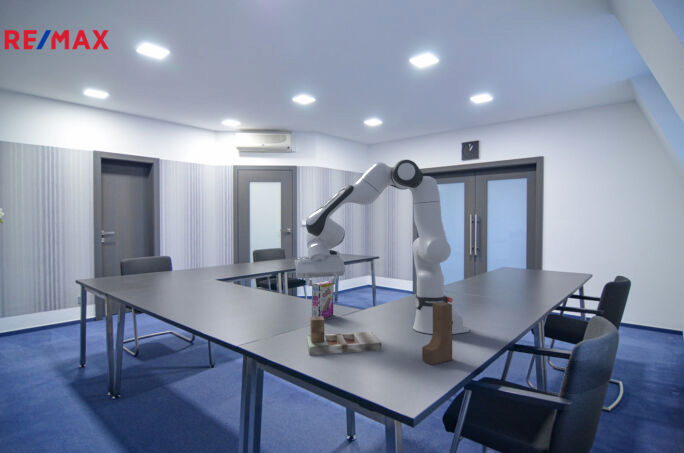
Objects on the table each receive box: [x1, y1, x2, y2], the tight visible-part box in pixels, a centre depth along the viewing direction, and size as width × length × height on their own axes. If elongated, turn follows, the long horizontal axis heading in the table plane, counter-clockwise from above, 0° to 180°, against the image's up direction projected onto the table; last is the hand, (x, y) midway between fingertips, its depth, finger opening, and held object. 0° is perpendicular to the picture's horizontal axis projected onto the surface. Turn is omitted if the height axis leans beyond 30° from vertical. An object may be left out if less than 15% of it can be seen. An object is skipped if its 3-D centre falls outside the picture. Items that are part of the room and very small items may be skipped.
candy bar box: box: [311, 280, 335, 319], centre depth 164 cm, size 11×5×16 cm, turn 144°
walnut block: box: [310, 316, 325, 343], centre depth 122 cm, size 4×4×8 cm
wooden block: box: [421, 302, 453, 366], centre depth 110 cm, size 9×4×18 cm, turn 118°
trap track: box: [306, 331, 382, 356], centre depth 123 cm, size 25×13×2 cm, turn 100°
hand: (322, 284), depth 136 cm, fingers open, 8 cm apart
